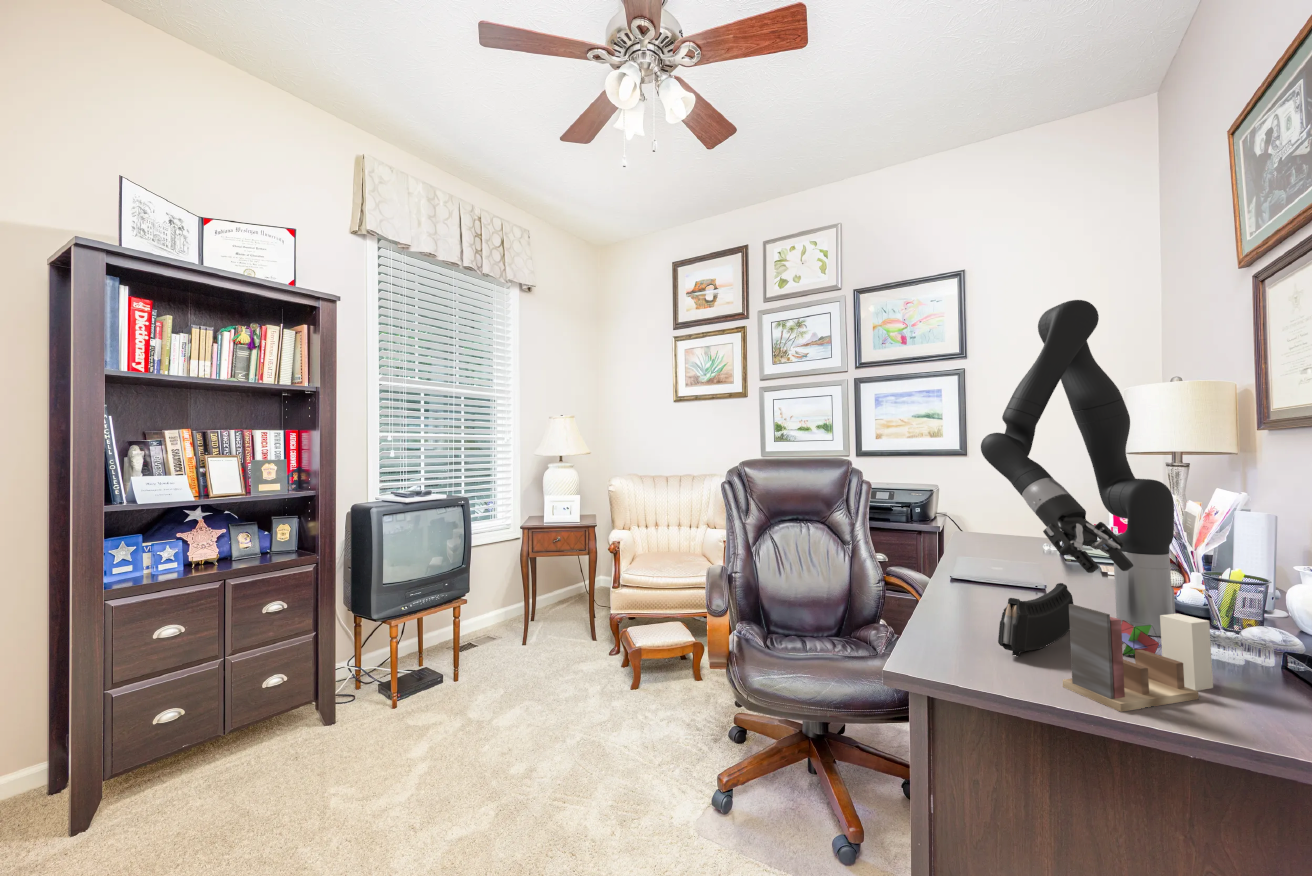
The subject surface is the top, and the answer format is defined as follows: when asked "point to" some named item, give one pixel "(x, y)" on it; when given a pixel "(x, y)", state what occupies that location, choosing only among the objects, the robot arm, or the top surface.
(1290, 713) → the top surface
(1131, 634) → the geometric puzzle
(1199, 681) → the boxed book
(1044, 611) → the magazine
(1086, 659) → the book rack
